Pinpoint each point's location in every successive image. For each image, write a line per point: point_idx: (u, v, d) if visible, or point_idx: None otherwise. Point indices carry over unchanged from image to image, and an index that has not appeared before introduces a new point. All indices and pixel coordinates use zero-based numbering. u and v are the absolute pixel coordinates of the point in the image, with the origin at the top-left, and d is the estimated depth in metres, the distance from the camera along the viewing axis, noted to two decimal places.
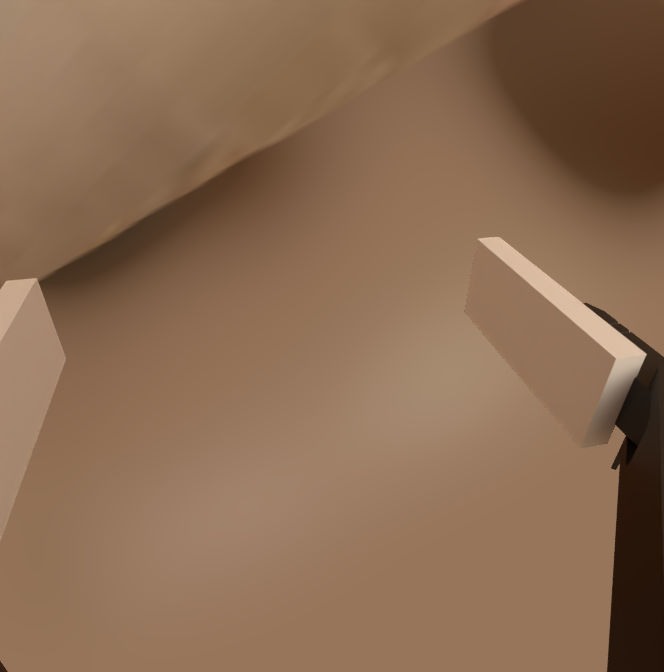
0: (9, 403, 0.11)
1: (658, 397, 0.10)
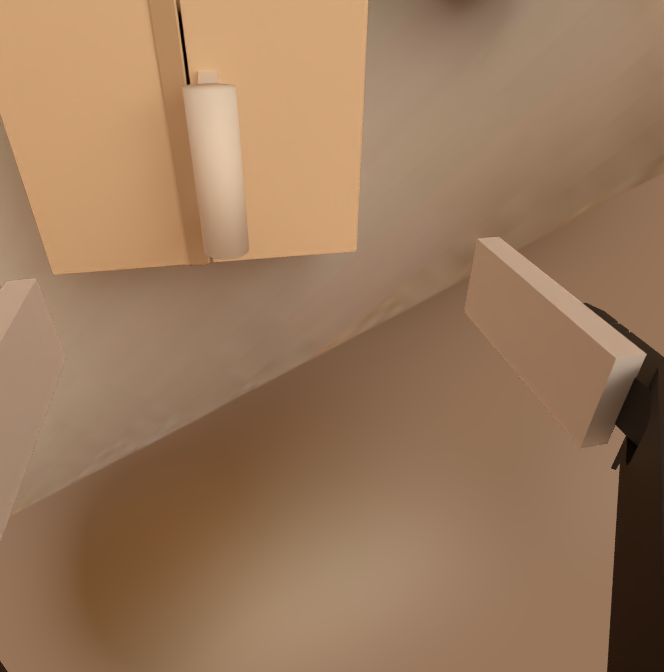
0: (9, 403, 0.11)
1: (658, 397, 0.10)
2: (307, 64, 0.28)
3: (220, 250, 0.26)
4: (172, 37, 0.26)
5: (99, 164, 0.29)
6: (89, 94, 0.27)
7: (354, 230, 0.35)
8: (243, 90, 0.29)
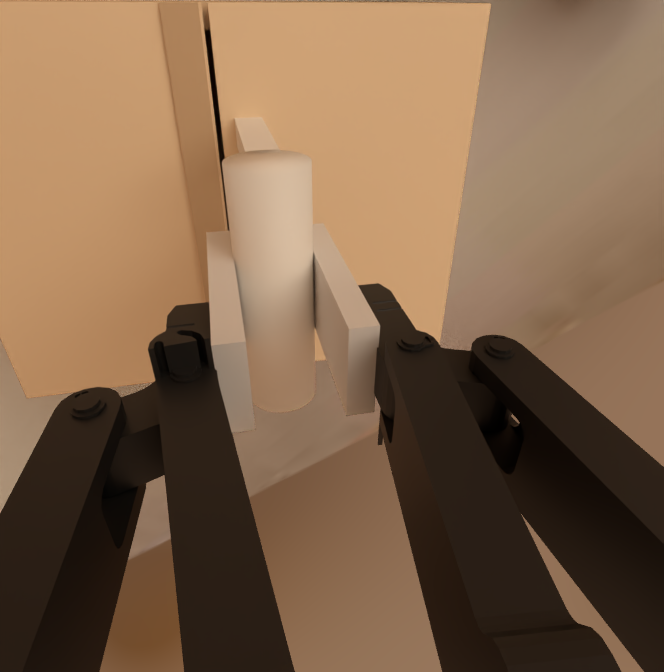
0: None
1: (395, 376, 0.10)
2: (394, 104, 0.19)
3: (276, 400, 0.17)
4: (197, 70, 0.17)
5: (88, 254, 0.20)
6: (70, 156, 0.18)
7: (439, 320, 0.26)
8: (299, 143, 0.19)
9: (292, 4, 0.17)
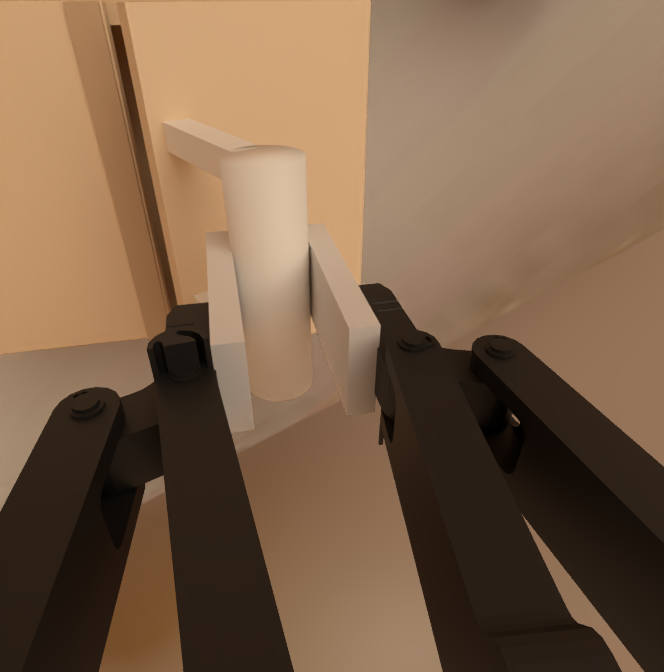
0: None
1: (396, 375, 0.10)
2: (304, 95, 0.20)
3: (288, 388, 0.17)
4: (102, 60, 0.19)
5: (20, 225, 0.22)
6: None
7: None
8: None
9: (208, 3, 0.17)
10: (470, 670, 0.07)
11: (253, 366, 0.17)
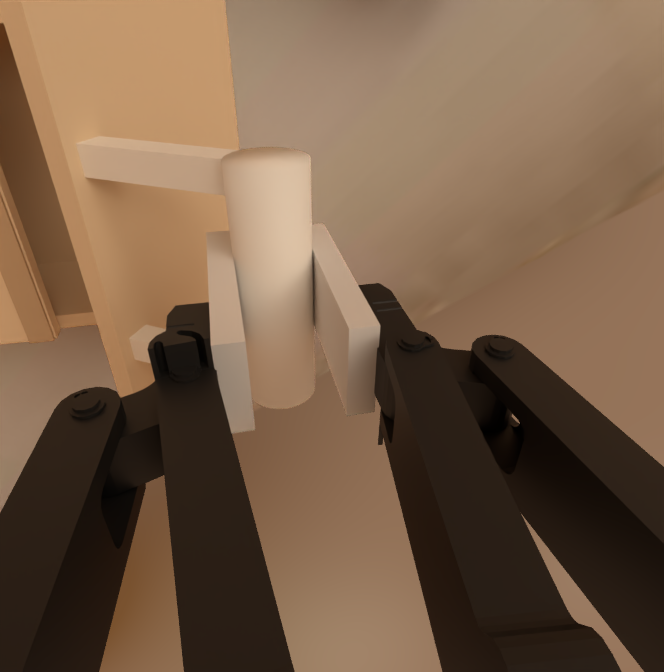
0: None
1: (395, 376, 0.10)
2: (190, 99, 0.19)
3: (306, 388, 0.17)
4: None
5: None
6: None
7: None
8: None
9: (100, 2, 0.15)
10: (470, 670, 0.07)
11: (273, 378, 0.16)
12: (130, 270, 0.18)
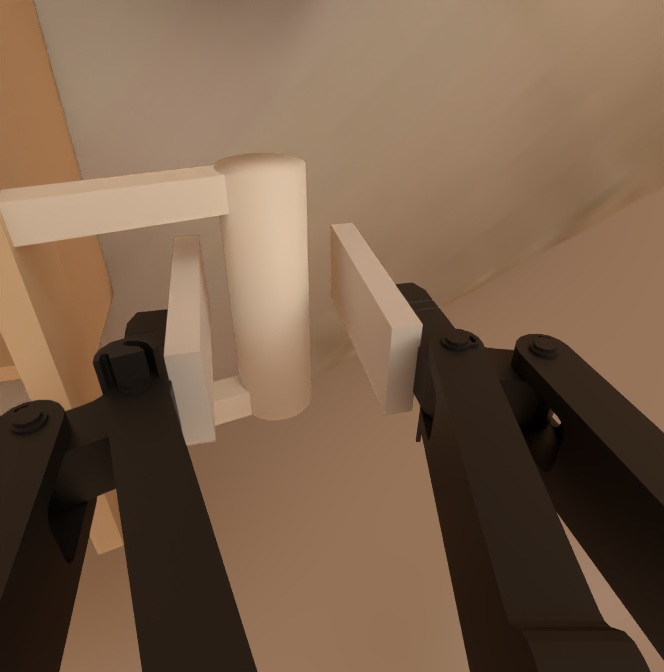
0: (205, 329, 0.14)
1: (437, 373, 0.10)
2: (8, 131, 0.15)
3: None
4: None
5: None
6: None
7: (90, 351, 0.23)
8: None
9: None
10: (496, 664, 0.07)
11: (295, 384, 0.16)
12: (61, 355, 0.14)
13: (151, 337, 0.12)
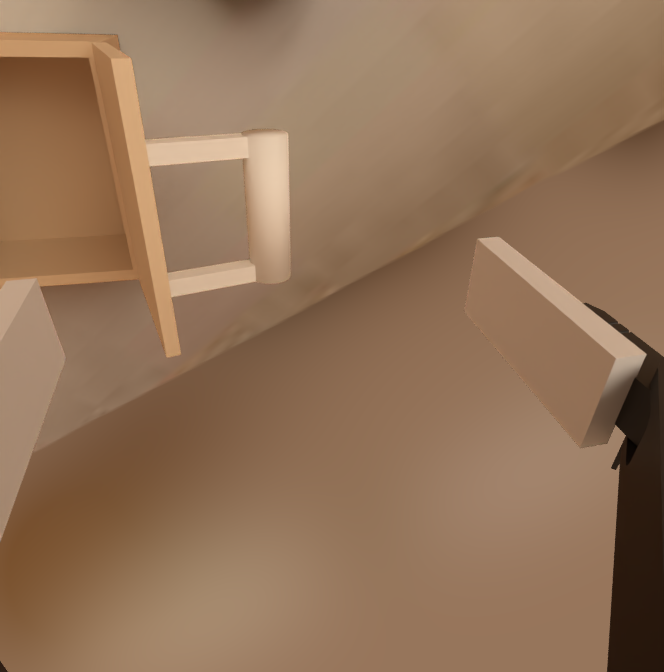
0: (9, 403, 0.11)
1: (658, 397, 0.10)
2: None
3: None
4: None
5: None
6: None
7: None
8: None
9: (123, 54, 0.23)
10: None
11: (281, 261, 0.29)
12: None
13: None
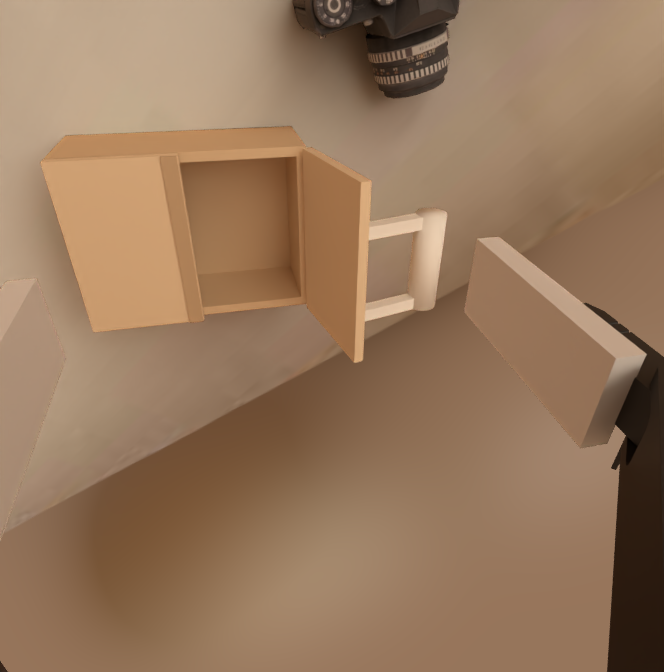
0: (9, 403, 0.11)
1: (658, 397, 0.10)
2: None
3: None
4: (176, 181, 0.39)
5: (127, 260, 0.42)
6: (121, 217, 0.40)
7: None
8: None
9: (352, 170, 0.36)
10: None
11: (432, 295, 0.41)
12: None
13: None
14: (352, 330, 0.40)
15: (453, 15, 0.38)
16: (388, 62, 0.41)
